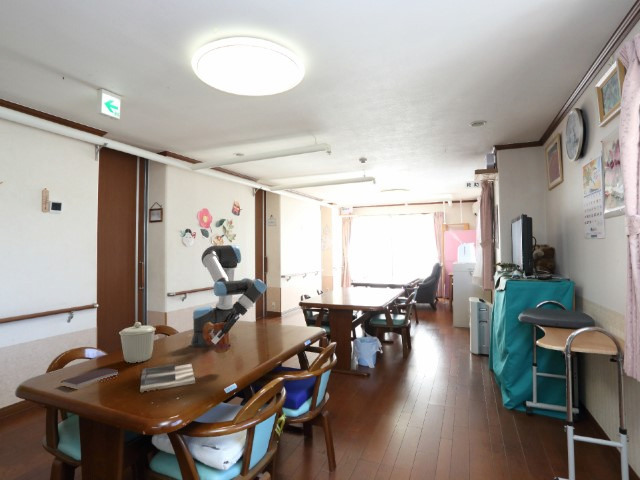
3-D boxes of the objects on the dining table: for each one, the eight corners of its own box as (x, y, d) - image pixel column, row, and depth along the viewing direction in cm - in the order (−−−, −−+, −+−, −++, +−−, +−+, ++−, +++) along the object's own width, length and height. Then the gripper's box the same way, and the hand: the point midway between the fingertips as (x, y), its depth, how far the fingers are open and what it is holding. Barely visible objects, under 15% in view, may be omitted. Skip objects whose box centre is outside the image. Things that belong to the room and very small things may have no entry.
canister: (143, 353, 205) (143, 317, 206) (163, 357, 196) (162, 320, 197) (112, 362, 190) (111, 324, 190) (132, 367, 181) (131, 326, 181)
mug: (235, 349, 176) (232, 319, 177) (226, 353, 168) (223, 322, 169) (210, 350, 180) (208, 321, 181) (200, 354, 172) (198, 324, 173)
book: (60, 387, 158) (60, 379, 158) (103, 372, 175) (103, 366, 175) (76, 391, 152) (76, 383, 152) (119, 376, 170) (119, 369, 170)
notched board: (143, 373, 171) (143, 365, 171) (191, 366, 180) (191, 358, 180) (140, 392, 147) (140, 383, 147) (195, 383, 156) (194, 374, 156)
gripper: (253, 313, 170) (220, 350, 163) (243, 306, 191) (214, 339, 184) (241, 303, 168) (208, 340, 161) (233, 297, 189) (203, 330, 182)
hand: (211, 339), depth 173 cm, fingers closed on mug, 10 cm apart
